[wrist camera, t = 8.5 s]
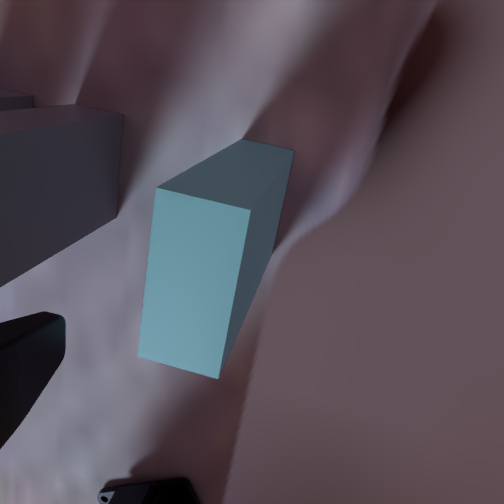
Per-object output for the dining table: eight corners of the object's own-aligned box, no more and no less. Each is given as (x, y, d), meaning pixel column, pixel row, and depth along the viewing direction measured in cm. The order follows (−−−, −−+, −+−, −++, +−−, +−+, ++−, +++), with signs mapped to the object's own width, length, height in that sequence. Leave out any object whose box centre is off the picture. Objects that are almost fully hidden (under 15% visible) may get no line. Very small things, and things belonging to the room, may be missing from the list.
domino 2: (294, 150, 20) (251, 210, 11) (271, 254, 22) (217, 379, 13) (241, 138, 21) (156, 187, 11) (223, 242, 22) (137, 356, 13)
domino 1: (123, 114, 21) (-49, 141, 12) (116, 217, 23) (-37, 309, 14) (74, 104, 21) (-130, 123, 12) (71, 206, 23) (-108, 290, 14)
